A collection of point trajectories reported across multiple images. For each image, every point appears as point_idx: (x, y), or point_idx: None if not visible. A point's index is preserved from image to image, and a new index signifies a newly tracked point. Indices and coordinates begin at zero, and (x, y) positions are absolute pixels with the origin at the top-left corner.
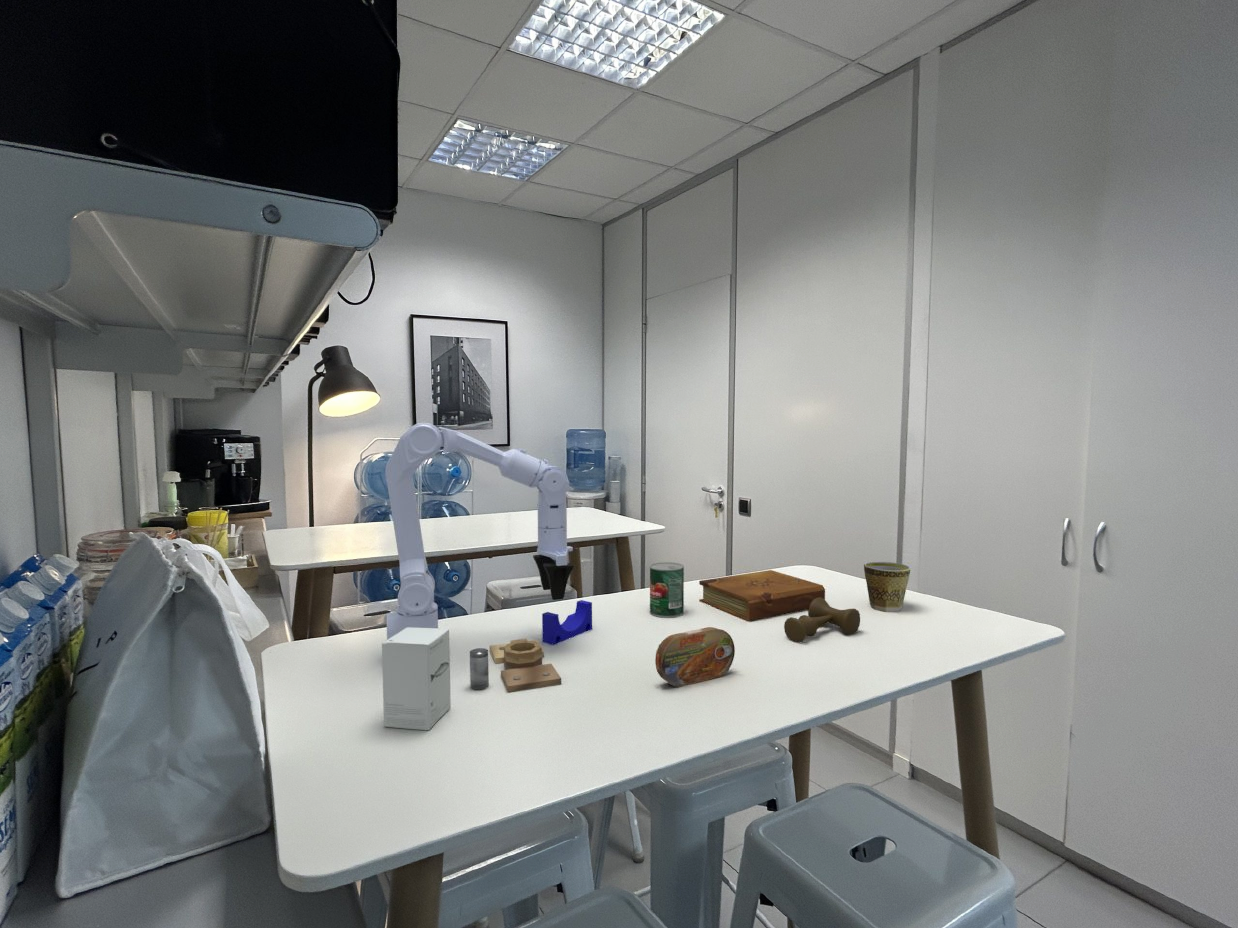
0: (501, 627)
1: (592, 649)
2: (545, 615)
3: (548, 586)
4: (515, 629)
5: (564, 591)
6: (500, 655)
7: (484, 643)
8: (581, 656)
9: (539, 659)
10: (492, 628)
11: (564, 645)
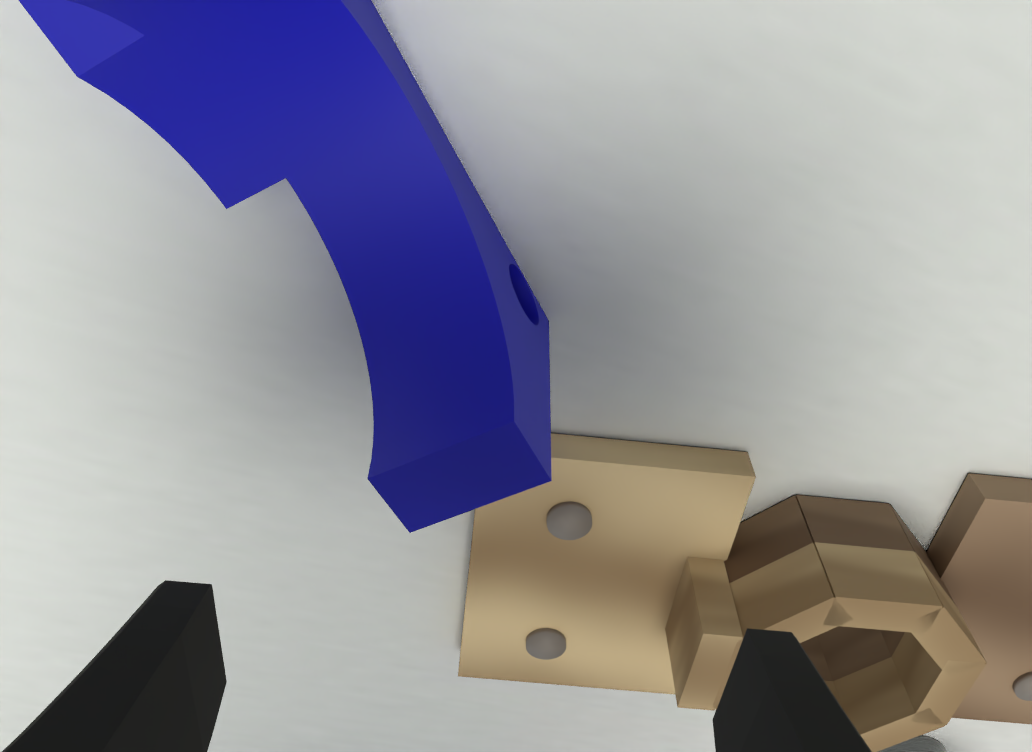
0: (8, 509)
1: (843, 66)
2: (452, 509)
3: (206, 680)
4: (76, 446)
5: (848, 724)
6: (651, 668)
7: (318, 644)
8: (921, 222)
9: (926, 563)
10: (21, 556)
11: (603, 251)
